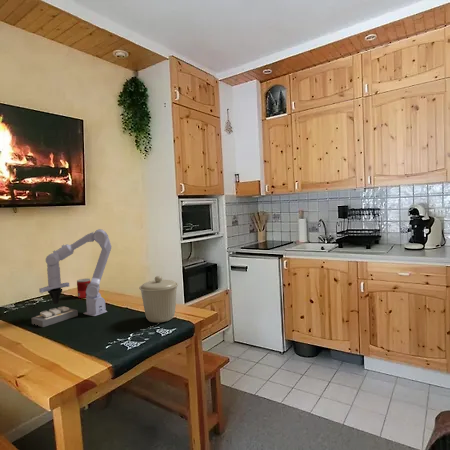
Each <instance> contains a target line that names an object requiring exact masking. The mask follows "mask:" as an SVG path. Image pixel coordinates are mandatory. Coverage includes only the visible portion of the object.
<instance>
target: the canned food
mask: <svg viewBox="0 0 450 450" xmlns="http://www.w3.org/2000/svg"><path fill="white" fill-rule="evenodd" d="M90 282H91V278H80V279H77V280H76V287H77V288H76V289H77V298H78V299H80V298H81V299H80V300H82V298H84V299H86V296H87V294H86V289H87V286H88V284H89V283H90Z"/></svg>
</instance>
